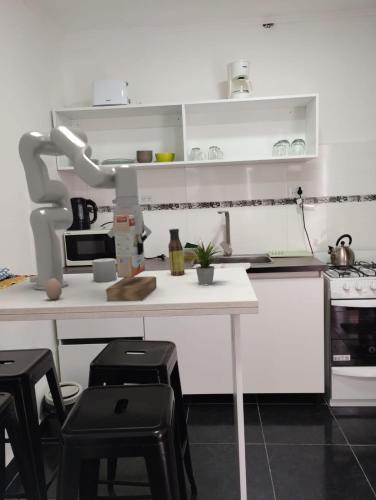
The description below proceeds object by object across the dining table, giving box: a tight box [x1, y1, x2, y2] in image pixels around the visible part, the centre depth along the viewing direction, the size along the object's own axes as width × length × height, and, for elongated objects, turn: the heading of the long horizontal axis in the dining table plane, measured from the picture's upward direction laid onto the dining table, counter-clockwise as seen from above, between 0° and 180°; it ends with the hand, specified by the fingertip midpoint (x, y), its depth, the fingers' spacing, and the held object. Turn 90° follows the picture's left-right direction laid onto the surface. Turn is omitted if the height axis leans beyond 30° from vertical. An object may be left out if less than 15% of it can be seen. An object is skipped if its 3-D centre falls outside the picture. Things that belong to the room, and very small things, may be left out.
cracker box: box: [114, 215, 146, 279], centre depth 142 cm, size 14×6×21 cm, turn 169°
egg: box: [45, 278, 63, 301], centre depth 141 cm, size 5×5×7 cm
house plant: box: [189, 241, 225, 286], centre depth 154 cm, size 14×14×16 cm
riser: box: [105, 275, 158, 302], centre depth 144 cm, size 12×20×4 cm, turn 171°
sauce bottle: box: [167, 228, 186, 276], centre depth 177 cm, size 6×6×20 cm
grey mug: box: [91, 257, 118, 283], centre depth 174 cm, size 9×13×9 cm
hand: (130, 254), depth 143 cm, fingers closed on cracker box, 6 cm apart
